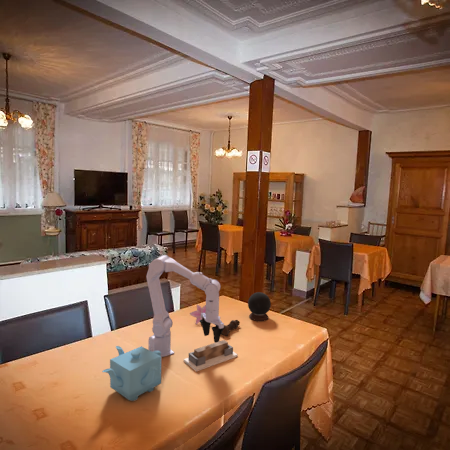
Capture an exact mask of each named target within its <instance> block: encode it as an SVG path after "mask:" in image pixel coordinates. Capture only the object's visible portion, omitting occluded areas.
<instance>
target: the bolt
mask: <svg viewBox="0 0 450 450" xmlns="http://www.w3.org/2000/svg"><path fill="white" fill-rule="evenodd" d="M240 323H241V322H240V321H239V320H238V319H235V320H234V319H232V320H230V322H229V323H228V324H226V325H225V324H224V326H225V328H224V330H223V331H222V333H221V336H223V337H227V336H228V335H229V333H230V332H231V331H232V330H237V328H238V327H239V325H240Z"/></svg>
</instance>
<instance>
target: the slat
mask: <svg viewBox="0 0 450 450" xmlns="http://www.w3.org/2000/svg"><path fill="white" fill-rule="evenodd" d="M228 344H229V342H228V341H227V340H224V339H223V340H219V342H216V343H215V342H213V343H210V344H206V345H204V346H202V347H198V348H194V349H193V352H194V356H195V357H197V358H200V357H203V356H205V357H206V360H209V359H212V358H215V357H218V356H221V355H223V354H224V349H226V348H228ZM206 360H205V361H206Z"/></svg>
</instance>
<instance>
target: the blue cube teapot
mask: <svg viewBox="0 0 450 450" xmlns="http://www.w3.org/2000/svg"><path fill="white" fill-rule="evenodd" d="M115 348H116V351H117V353H118V356H115V357H113V358H110V359H109V368H106V369H103V370H102V373H106V374H108V376H109V379H110V380H109V385H110V386H109V387H110V388H111V389H113V390H114V391H115V392H116V393H118V394H120V395H121V396H122V397H124V399H126V400H128V401H131V402H135V401H138V399H139V396H140V395H143V394H144V393H146V392H149V393H150V392H153V391H154V390H155V387H157V386H159V385H161V384H162V357H161V352H160V351H153V352H152V351H150V350H148V349H147V348H145V347H144V346H142V345H141V346H139V347H136V348H134V349H132V350H129V351H127V352H125V351H124V349H123V348H122V347H121V346H119V345H115Z"/></svg>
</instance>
